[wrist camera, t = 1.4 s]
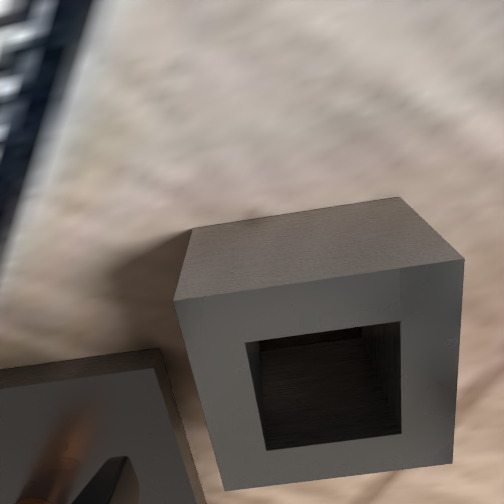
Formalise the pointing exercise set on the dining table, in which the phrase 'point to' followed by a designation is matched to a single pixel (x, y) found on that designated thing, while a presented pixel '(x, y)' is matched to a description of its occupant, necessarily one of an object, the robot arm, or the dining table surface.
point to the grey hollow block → (326, 353)
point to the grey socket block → (92, 429)
